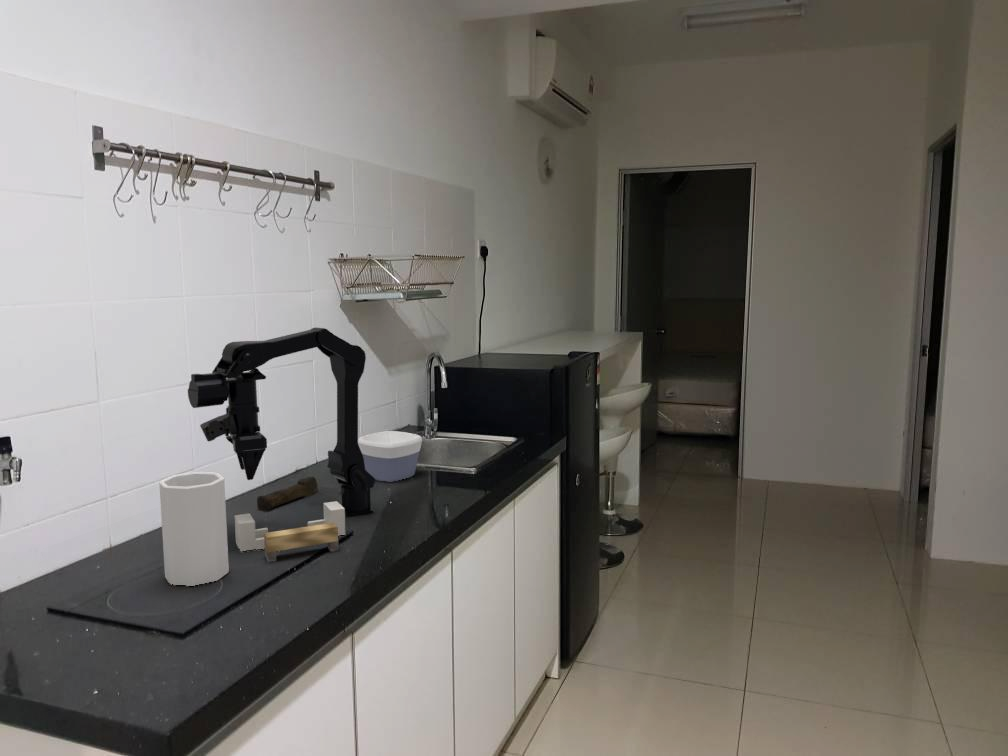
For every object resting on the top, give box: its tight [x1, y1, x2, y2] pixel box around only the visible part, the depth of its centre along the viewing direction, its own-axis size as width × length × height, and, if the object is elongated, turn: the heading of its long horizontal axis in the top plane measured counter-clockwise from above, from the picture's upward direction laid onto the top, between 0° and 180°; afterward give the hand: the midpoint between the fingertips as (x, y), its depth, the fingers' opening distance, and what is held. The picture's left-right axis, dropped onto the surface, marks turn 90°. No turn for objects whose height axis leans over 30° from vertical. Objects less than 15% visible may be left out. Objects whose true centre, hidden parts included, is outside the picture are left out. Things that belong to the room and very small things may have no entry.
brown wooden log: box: [256, 476, 319, 512], centre depth 190 cm, size 19×4×5 cm, turn 149°
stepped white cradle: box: [234, 501, 346, 553], centre depth 163 cm, size 22×7×6 cm, turn 118°
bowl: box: [358, 430, 423, 483], centre depth 213 cm, size 15×15×11 cm
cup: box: [159, 471, 230, 587], centre depth 142 cm, size 11×11×18 cm
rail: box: [264, 523, 340, 562], centre depth 154 cm, size 14×3×5 cm, turn 118°
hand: (246, 474), depth 163 cm, fingers open, 9 cm apart
